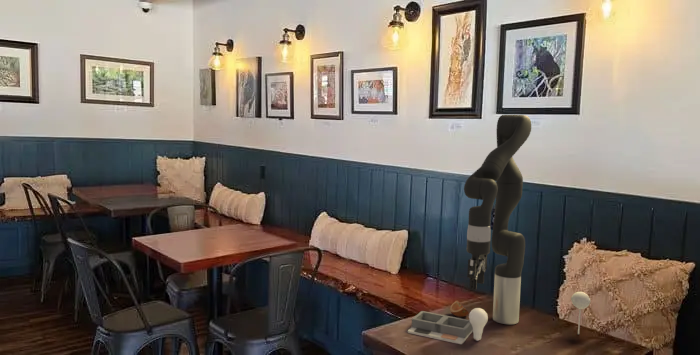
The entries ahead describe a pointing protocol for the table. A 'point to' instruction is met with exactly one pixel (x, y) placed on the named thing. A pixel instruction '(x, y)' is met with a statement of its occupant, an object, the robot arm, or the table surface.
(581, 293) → the lollipop
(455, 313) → the fruit slice
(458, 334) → the socket board
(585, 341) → the table surface
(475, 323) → the lightbulb
